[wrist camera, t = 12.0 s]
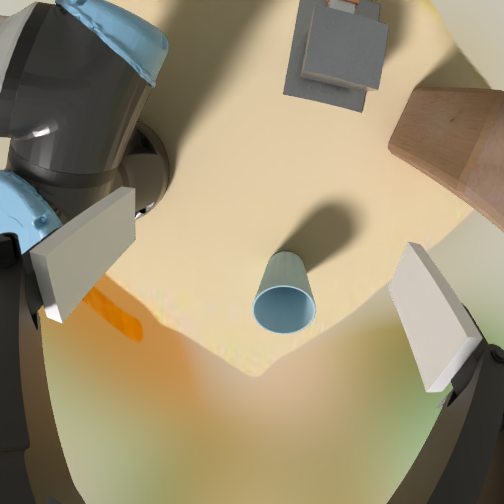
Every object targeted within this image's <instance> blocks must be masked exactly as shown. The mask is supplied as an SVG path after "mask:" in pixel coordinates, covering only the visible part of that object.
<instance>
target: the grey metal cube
mask: <svg viewBox="0 0 504 504" xmlns="http://www.w3.org/2000/svg"><path fill="white" fill-rule="evenodd" d="M388 29H389V25H387V24H384V23H381V22H378V21H375V20H372V19H369V18H366V17H363V16H359V15H356V14H352V13H349V12H345V11H341V10H337V9H333V8H329V7H324V6H320V5H315V7H314V10H313V14H312V17H311V21H310V25H309V31H308V36H307V42H306V48H305V53H304V59H303V64H302V70H301V75H300V77H302V78H307V79H311V80H316V81H320V82H325V83H329V84H333V85H337V86H341V87H345V88H348V89H352V90H355V91H359V92H363V91H373V90H378V89H379V83H380V78H381V73H382V67H383V61H384V55H385V49H386V43H387V36H388Z"/></svg>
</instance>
